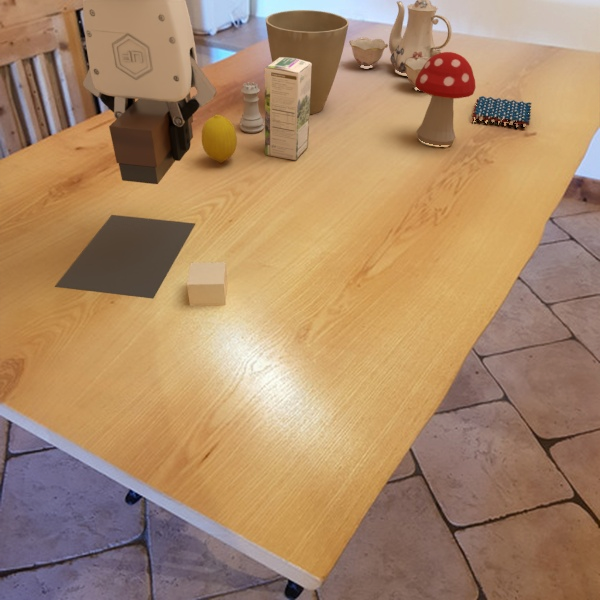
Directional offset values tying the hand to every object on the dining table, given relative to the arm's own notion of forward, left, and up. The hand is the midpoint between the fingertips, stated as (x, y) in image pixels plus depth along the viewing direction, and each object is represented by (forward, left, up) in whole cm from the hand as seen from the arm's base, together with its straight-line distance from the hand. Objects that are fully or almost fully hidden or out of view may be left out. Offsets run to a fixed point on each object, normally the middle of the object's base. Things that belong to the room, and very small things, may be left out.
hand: (159, 151), depth 62 cm
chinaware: (+28, +75, -14) cm, 82 cm away
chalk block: (+7, -9, -14) cm, 18 cm away
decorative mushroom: (+34, +40, -14) cm, 55 cm away
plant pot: (+9, +51, -14) cm, 54 cm away
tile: (-5, -3, -14) cm, 15 cm away
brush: (0, 0, -1) cm, 1 cm away
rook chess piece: (+1, +39, -14) cm, 42 cm away
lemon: (-1, +25, -14) cm, 29 cm away
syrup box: (+9, +31, -14) cm, 35 cm away
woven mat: (+47, +54, -14) cm, 73 cm away
